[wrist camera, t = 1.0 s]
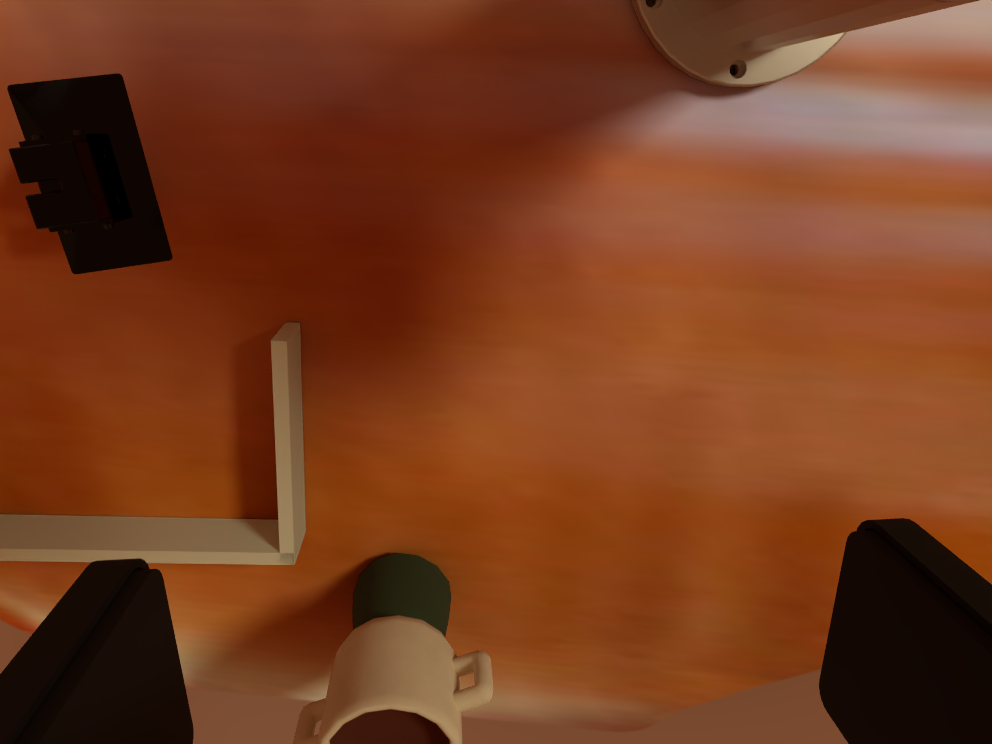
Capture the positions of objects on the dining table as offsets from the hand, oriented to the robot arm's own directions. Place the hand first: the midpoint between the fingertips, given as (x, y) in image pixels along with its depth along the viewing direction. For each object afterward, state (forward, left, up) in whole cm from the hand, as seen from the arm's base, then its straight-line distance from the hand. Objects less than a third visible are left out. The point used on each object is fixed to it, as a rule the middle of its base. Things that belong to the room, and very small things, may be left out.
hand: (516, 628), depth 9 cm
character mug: (+22, -3, -30) cm, 38 cm away
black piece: (-3, -19, -31) cm, 36 cm away
